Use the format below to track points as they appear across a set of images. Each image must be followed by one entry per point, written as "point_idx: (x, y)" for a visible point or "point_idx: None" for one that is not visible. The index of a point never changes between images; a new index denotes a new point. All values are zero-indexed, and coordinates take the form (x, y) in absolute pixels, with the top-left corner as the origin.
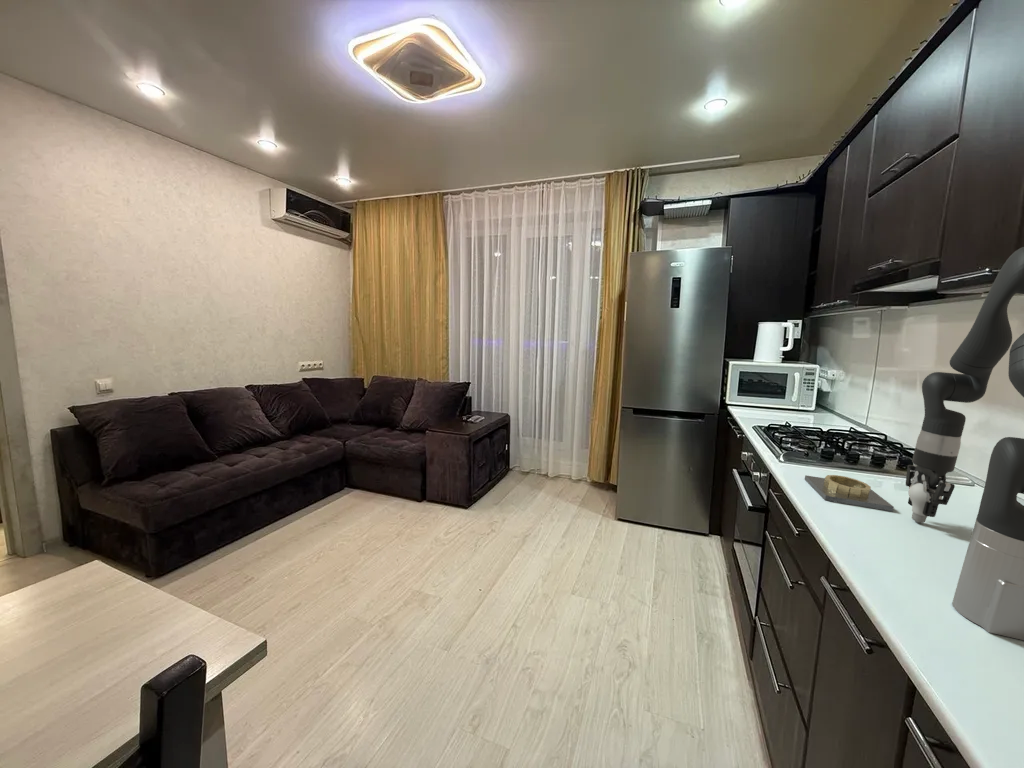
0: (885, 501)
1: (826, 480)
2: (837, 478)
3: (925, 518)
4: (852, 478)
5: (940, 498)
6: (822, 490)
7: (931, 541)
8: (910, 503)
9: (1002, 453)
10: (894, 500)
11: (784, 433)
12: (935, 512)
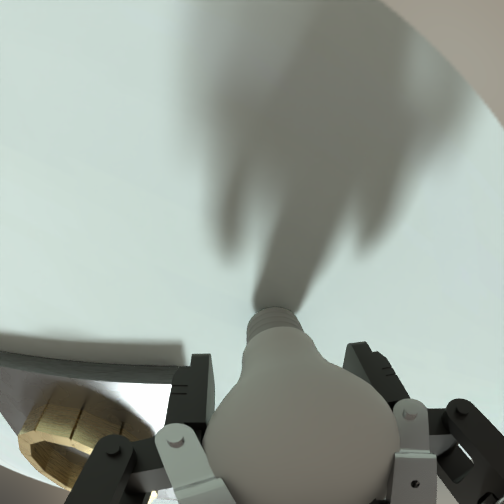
0: (119, 387)
1: None
2: (45, 463)
3: (299, 327)
4: (19, 441)
5: (428, 435)
6: (164, 496)
7: (432, 335)
8: (213, 392)
9: None
10: (11, 288)
11: None
12: (391, 369)
